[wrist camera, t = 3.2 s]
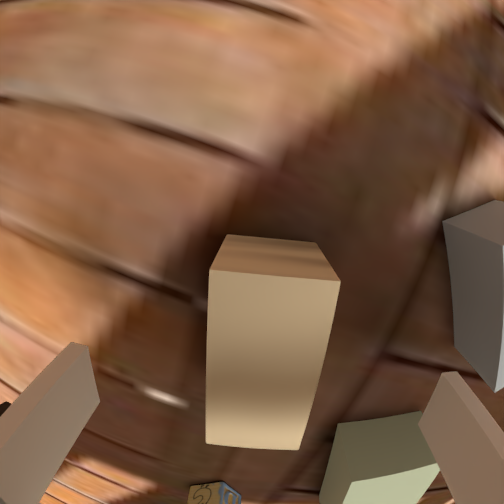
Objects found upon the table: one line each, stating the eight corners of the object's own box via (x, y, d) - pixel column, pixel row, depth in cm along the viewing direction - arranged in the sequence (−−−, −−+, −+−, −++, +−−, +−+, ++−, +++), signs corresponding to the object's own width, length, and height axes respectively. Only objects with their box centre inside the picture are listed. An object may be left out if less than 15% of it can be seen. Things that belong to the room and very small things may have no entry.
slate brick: (440, 220, 14) (502, 246, 9) (493, 199, 13) (555, 216, 8) (453, 345, 16) (494, 392, 11) (499, 319, 15) (544, 357, 10)
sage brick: (337, 421, 17) (351, 481, 13) (419, 408, 17) (446, 459, 12) (318, 494, 20) (324, 540, 15) (384, 484, 20) (397, 526, 15)
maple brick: (227, 233, 14) (209, 269, 9) (315, 242, 14) (340, 281, 9) (219, 376, 16) (205, 443, 12) (291, 382, 16) (298, 449, 12)
